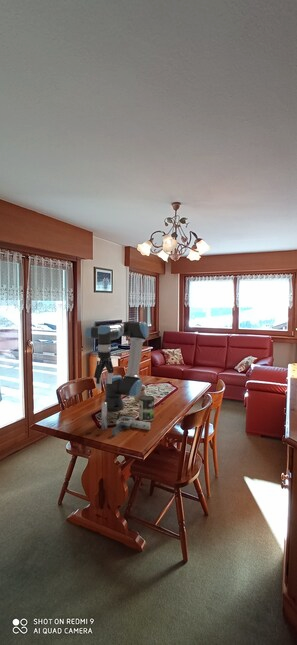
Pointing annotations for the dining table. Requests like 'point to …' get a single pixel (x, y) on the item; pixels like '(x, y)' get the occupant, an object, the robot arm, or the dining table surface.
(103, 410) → the pin
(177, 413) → the dining table surface
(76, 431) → the dining table surface
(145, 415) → the coffee can
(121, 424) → the grey flat branched piece
